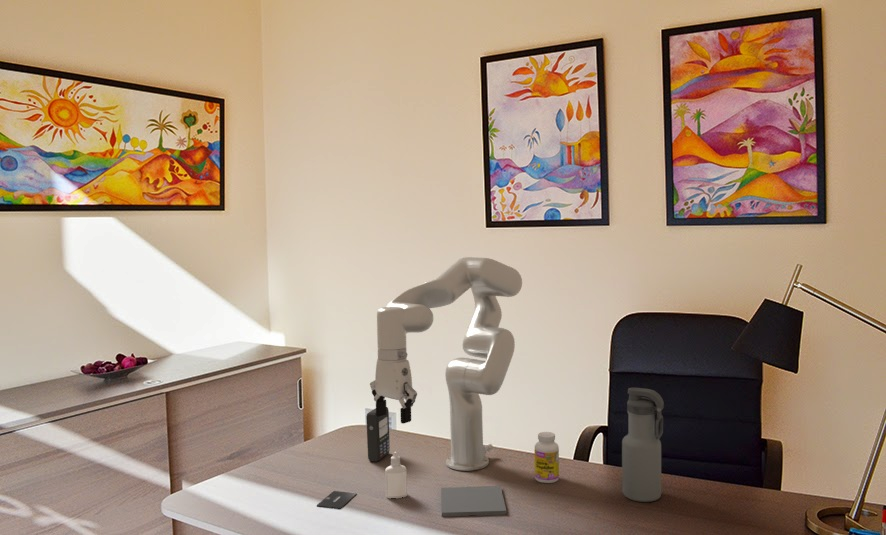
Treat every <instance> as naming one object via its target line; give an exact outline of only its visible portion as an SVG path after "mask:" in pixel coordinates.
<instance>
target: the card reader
mask: <svg viewBox="0 0 886 535" xmlns="http://www.w3.org/2000/svg"><path fill="white" fill-rule="evenodd" d="M389 415H390V412H389V407H387V406H386V415H383V416H379V417H378V416H376V407H375V408H374V409H372V410H371V411H369V412H367V414H366V416H365V417H366V442H367V443H366V444H367V445H366V446H367V459H368V461H370V462H379V461H381V459H383V458H385V457H386V456H387V455H388V454H390V449H391V448H390V446H391V445H390V416H389Z"/></svg>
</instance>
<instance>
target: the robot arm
mask: <svg viewBox="0 0 886 535" xmlns="http://www.w3.org/2000/svg"><path fill="white" fill-rule="evenodd" d="M522 286H523V279H522V275H521V274H520V272H519V271H518V270H517V269H516V268H514V267H511V266H510V265H507V264H505V263H502V262H501V261H498V260H495V259H493V258H489V257H472V256H471V257H470V256H468V257H467V256H466V257H465V256H464V257H461V258H459V259H458V260H456V261H454V262H453V263H452V264H451V265H449V266H448V267H447V268H446V269H445V270H444V271H442V272H441V273H440V274H438V276H436V277H435V278H433V279H431V280H428V281H426V282H423V283H421V284H418V285H416V286H414V287H413V286H412V287H411V288H408V289H406V290H404V291H403V292H402V293H400V294H398V295H397V296H396V297H394V298H393V299H392V300H391V301H390V302H388V304H387V305H386V306H385V307H381V308H378V310H377V312H376V328H377V329H376V335H377V336H376V337H377V360H376V366H375V374H374V375H375V380H373V381H371V382H369V386H370V389H371V394H372V395H373V400H374V402H375V408H376V416H378V417H379V416H383V415H386V407H387V399H386V398H388V399H392V400H395V401H396V400H397V401H398V402H399V404H400V406H401V408H399V409H400V424H407V423H410V422H412V407H413V406H414V403H415V402H416V399H417V396H418V392H417V391H416V389H414V387H413V380H412V378H413V377H412V371H411V366H410V365H411V364H410V362H409V359H407V358H408V352H407V351H408V350H407V334H410V333H411V334H412V333H414V334H415V333H423V332H426V331H428V329H430V328H431V327H432V325H433V322H434V313H433V311H432V310H431V309H435V308H436V309H438V308H441V307H445V306H449V305H451V304H453V303H454V302H456V301H457V300H458V299H459V298H460V297H461V296H462V295H464V293H466V292H467V291H468V290H471V293H472V295H473V296H472V297H473V300H474V311H473V314H472V316H471V319H470V321H469V324H468V327H467V329H466V332H465V335H464V337H463V341H462V350H463V352H464V353H465V354H466V355H469V356H471V357H474V358H480V359H486V360H480V359H474V358H470V357H457V358H456V357H455V358H453V359H452V360H450V362H449V363H448V364H447V366H446V368H445V376H444V377H445V381H446V382H445V383H446V386H447V390H448V397H449V418H450V419H449V420H450V421H449V423H450V424H449V425H450V455H449V457H447V458H446V460H445V464H446V466H447V467H448V468H450V469H453V470H456V471H462V472H463V471H467V472H469V471H478V470H481V469H484V468H486V467H487V466H488V465H489V464H490V462H489V458H488V457H487V456H486V454H487V453H488V452H490V451H493V449H494V446H493V444H492V443H489V444H486V445H484V433H483V432H484V430H483V428H484V427H483V426H484V425H483V404H482V399H481V397H480V395H483V396H484V395H485V396H493V395H496V394H497V393H498V392H499V391H500V389H501V388H502V386H503V383H504V381H505V378H506V375H507V372H508V370H509V366H510V364H511V361H512V358H513V356H514V352H515V348H516V347H515V346H516V345H515V338H514V335H513V333H512V332H511V331H510V330H508V329H507V328H504V327H499V326H500V325H501V324H500V323H501V321H502V315H503V314H502V313H503V312H502V309H501V305H500V303H499V301H498V299H497V297H505V298H511V297H515V296H517V295H518V294H519V293H520V292H521V289H522Z"/></svg>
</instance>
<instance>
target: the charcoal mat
mask: <svg viewBox="0 0 886 535" xmlns="http://www.w3.org/2000/svg"><path fill="white" fill-rule="evenodd" d="M440 499H441V501H440V502H441V517H442V516H445V517H469V515H477V516H501V515H502V516H504V515H507V507H506V503H505V499H504V495H503V491H502V487H501V485H490V486H489V485H487V486H486V485H485V486H484V485H482V486H451V487H450V486H449V487H440Z"/></svg>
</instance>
